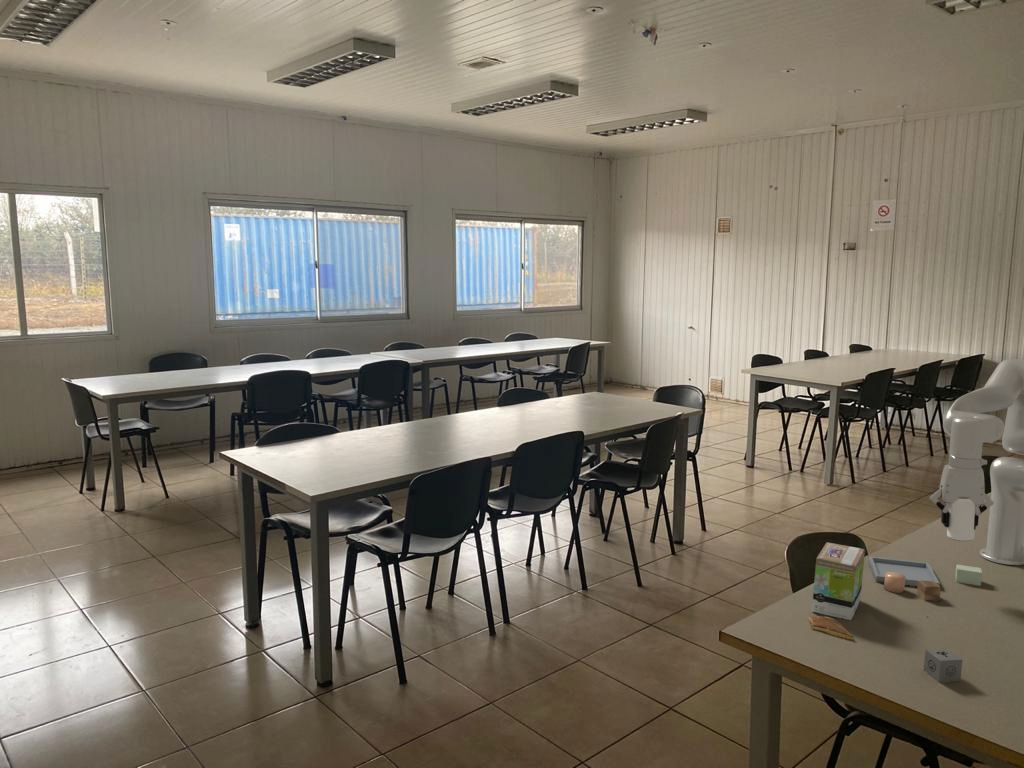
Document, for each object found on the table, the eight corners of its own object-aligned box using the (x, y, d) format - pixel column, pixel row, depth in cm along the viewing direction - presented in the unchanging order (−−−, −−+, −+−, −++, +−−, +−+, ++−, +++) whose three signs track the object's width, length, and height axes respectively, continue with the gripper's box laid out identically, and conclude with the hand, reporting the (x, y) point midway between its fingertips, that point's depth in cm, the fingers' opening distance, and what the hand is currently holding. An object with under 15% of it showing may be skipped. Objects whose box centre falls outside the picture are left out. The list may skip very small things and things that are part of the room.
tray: (927, 568, 227) (928, 562, 226) (939, 589, 211) (939, 583, 211) (868, 562, 231) (869, 556, 231) (875, 581, 216) (876, 575, 216)
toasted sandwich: (854, 643, 181) (854, 636, 181) (822, 643, 181) (822, 636, 181) (833, 622, 192) (834, 615, 192) (803, 622, 192) (804, 616, 192)
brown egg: (899, 586, 214) (901, 572, 213) (906, 593, 209) (908, 579, 208) (881, 584, 214) (883, 571, 214) (887, 591, 209) (889, 578, 209)
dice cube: (944, 669, 168) (946, 648, 168) (960, 681, 164) (962, 659, 163) (923, 670, 168) (925, 649, 167) (938, 682, 163) (940, 660, 162)
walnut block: (932, 595, 208) (933, 581, 207) (939, 601, 204) (940, 586, 203) (917, 594, 208) (918, 580, 208) (923, 600, 204) (925, 586, 204)
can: (965, 533, 212) (966, 491, 210) (979, 541, 206) (981, 498, 204) (942, 534, 212) (943, 492, 211) (955, 542, 206) (956, 499, 204)
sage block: (979, 581, 218) (980, 568, 217) (980, 586, 214) (982, 572, 214) (955, 577, 220) (956, 564, 220) (956, 582, 217) (957, 569, 216)
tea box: (852, 621, 191) (856, 565, 189) (810, 612, 197) (814, 557, 195) (861, 600, 204) (865, 547, 202) (821, 592, 209) (825, 540, 207)
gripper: (996, 461, 207) (990, 525, 210) (925, 457, 212) (920, 519, 214) (1005, 468, 200) (999, 534, 202) (932, 463, 205) (927, 528, 207)
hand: (959, 526), depth 208 cm, fingers closed on can, 5 cm apart
